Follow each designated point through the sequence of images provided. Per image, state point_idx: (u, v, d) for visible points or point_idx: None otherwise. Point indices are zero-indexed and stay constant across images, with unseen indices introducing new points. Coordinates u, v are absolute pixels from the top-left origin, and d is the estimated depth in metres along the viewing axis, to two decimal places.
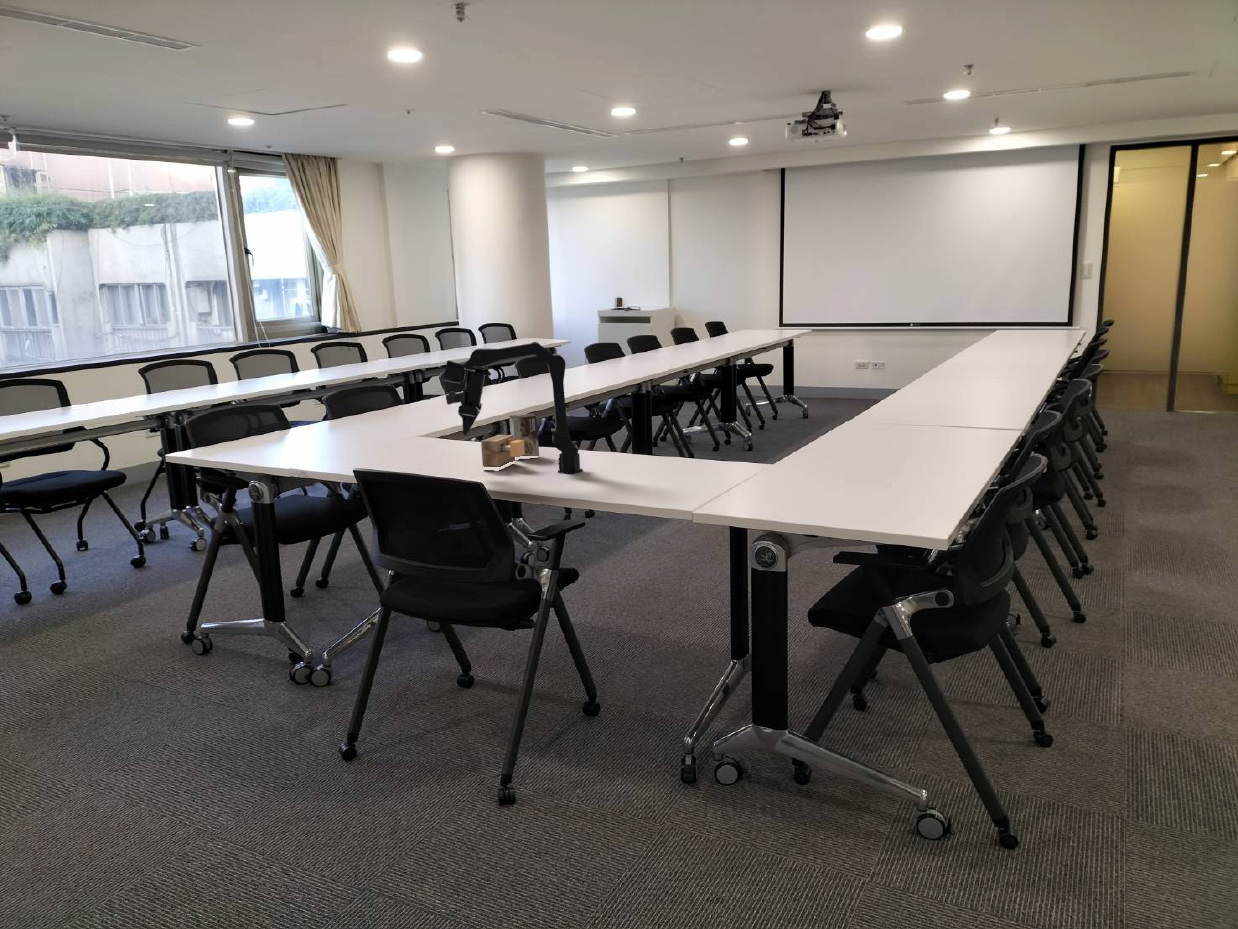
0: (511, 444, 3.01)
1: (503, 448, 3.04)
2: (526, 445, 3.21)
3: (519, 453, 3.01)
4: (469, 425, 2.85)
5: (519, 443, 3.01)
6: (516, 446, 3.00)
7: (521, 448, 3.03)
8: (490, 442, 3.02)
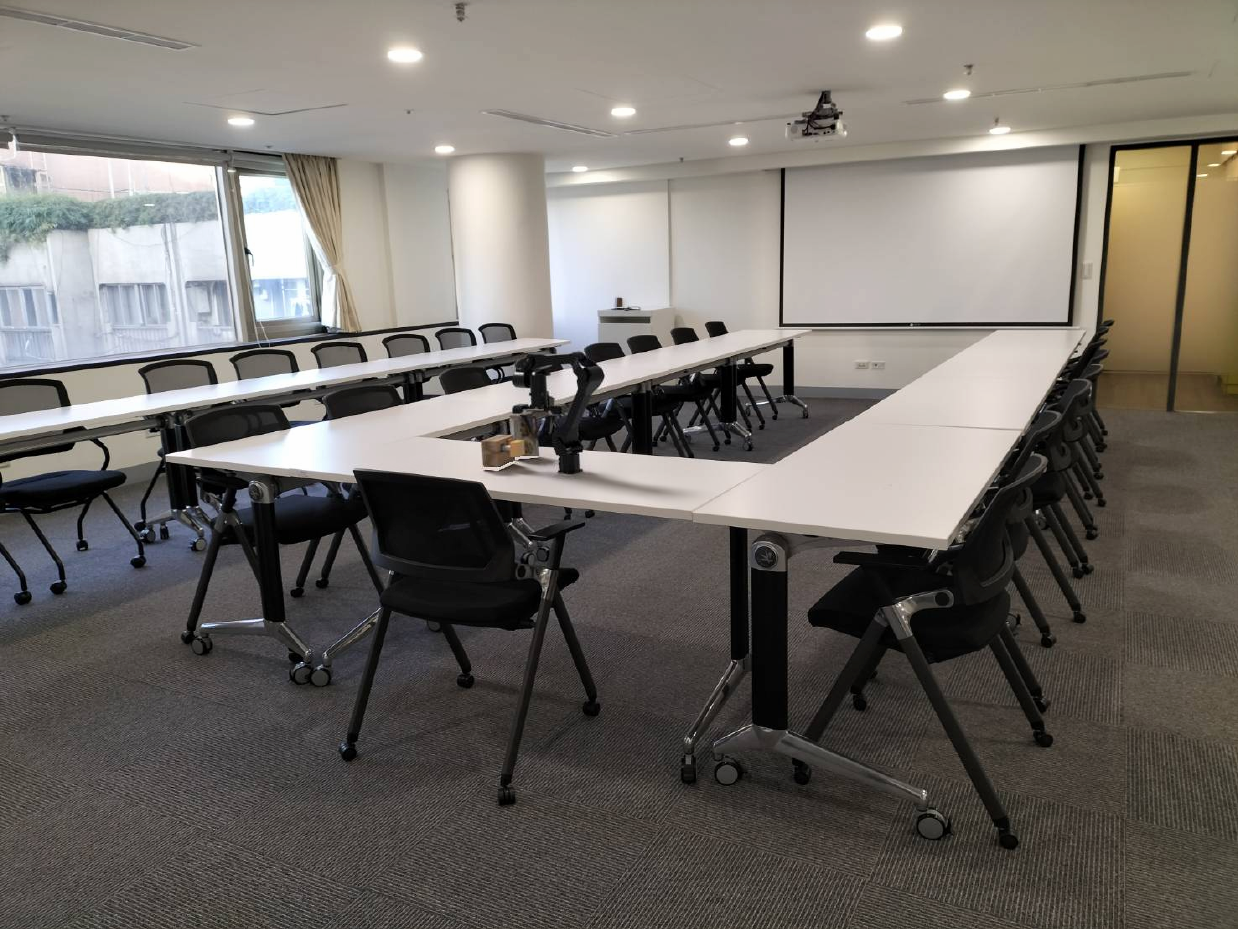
0: (511, 444, 3.01)
1: (503, 448, 3.04)
2: (526, 445, 3.21)
3: (519, 453, 3.01)
4: None
5: (519, 443, 3.01)
6: (516, 446, 3.00)
7: (521, 448, 3.03)
8: (490, 442, 3.02)
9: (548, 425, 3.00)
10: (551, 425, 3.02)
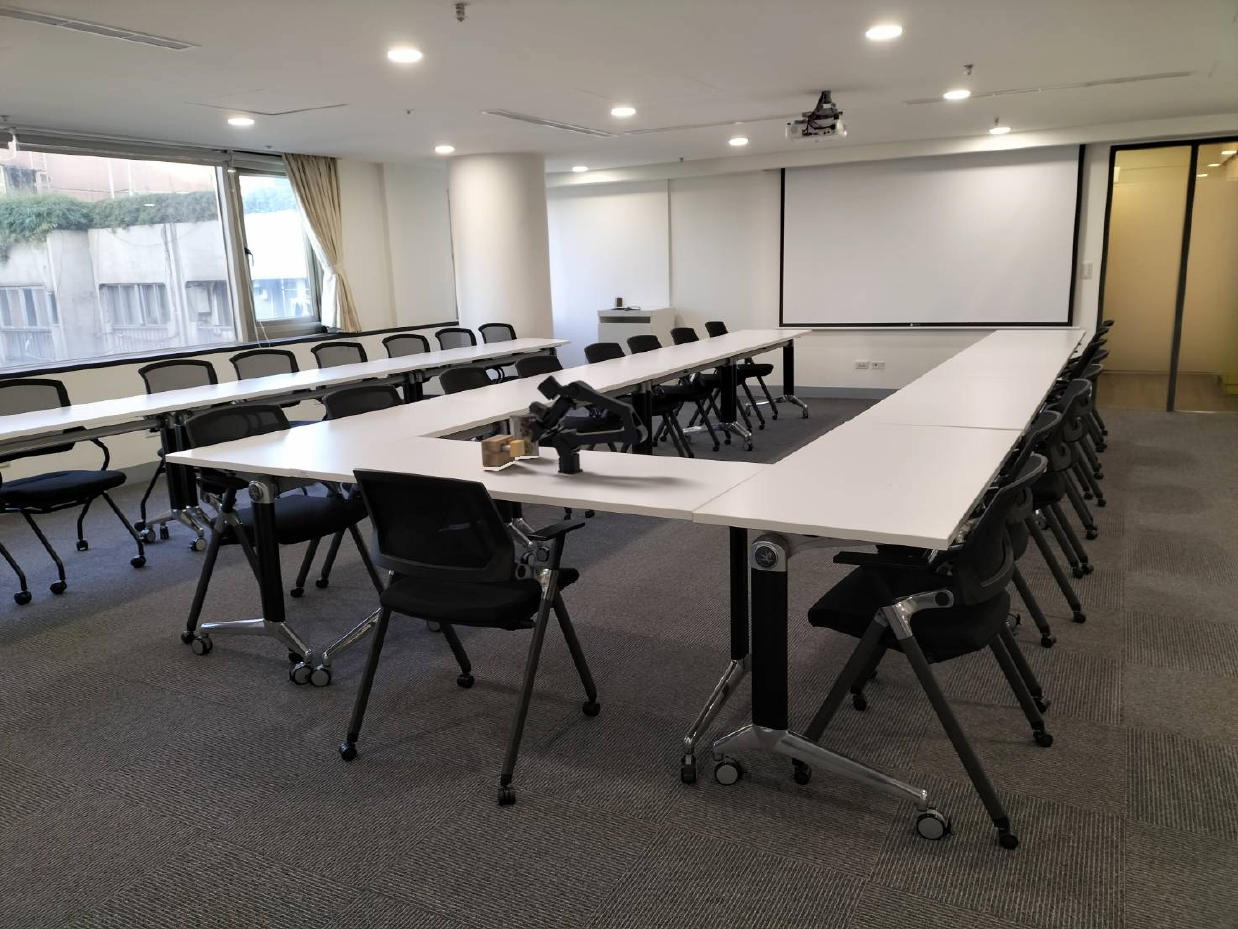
0: (511, 444, 3.01)
1: (503, 448, 3.04)
2: (526, 445, 3.21)
3: (519, 453, 3.01)
4: (537, 437, 2.98)
5: (519, 443, 3.01)
6: (516, 446, 3.00)
7: (521, 448, 3.03)
8: (490, 442, 3.02)
9: None
10: None
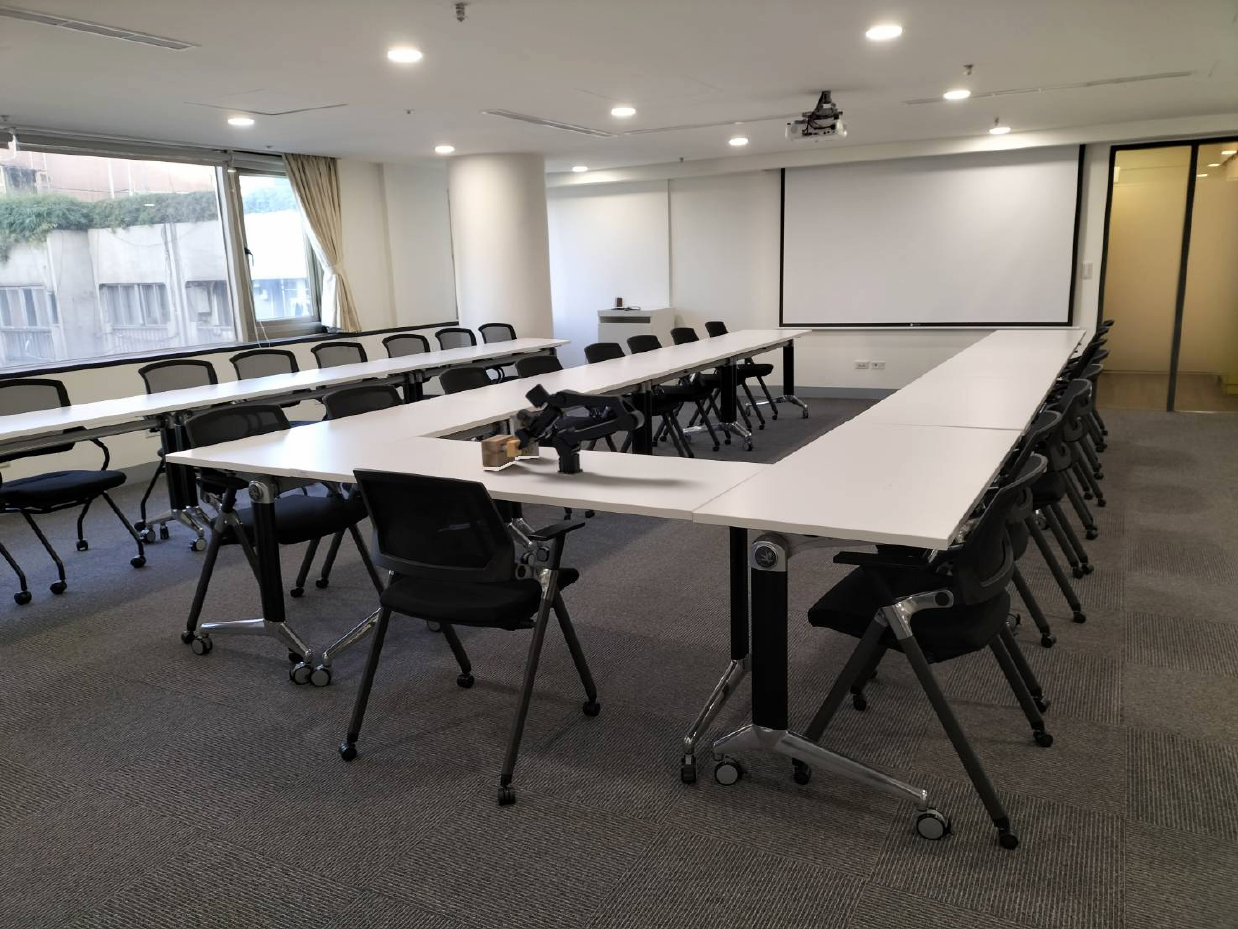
0: (508, 444, 3.01)
1: (500, 448, 3.04)
2: None
3: (516, 453, 3.02)
4: (524, 445, 3.00)
5: (516, 443, 3.02)
6: (512, 446, 3.01)
7: None
8: (490, 442, 3.02)
9: None
10: None
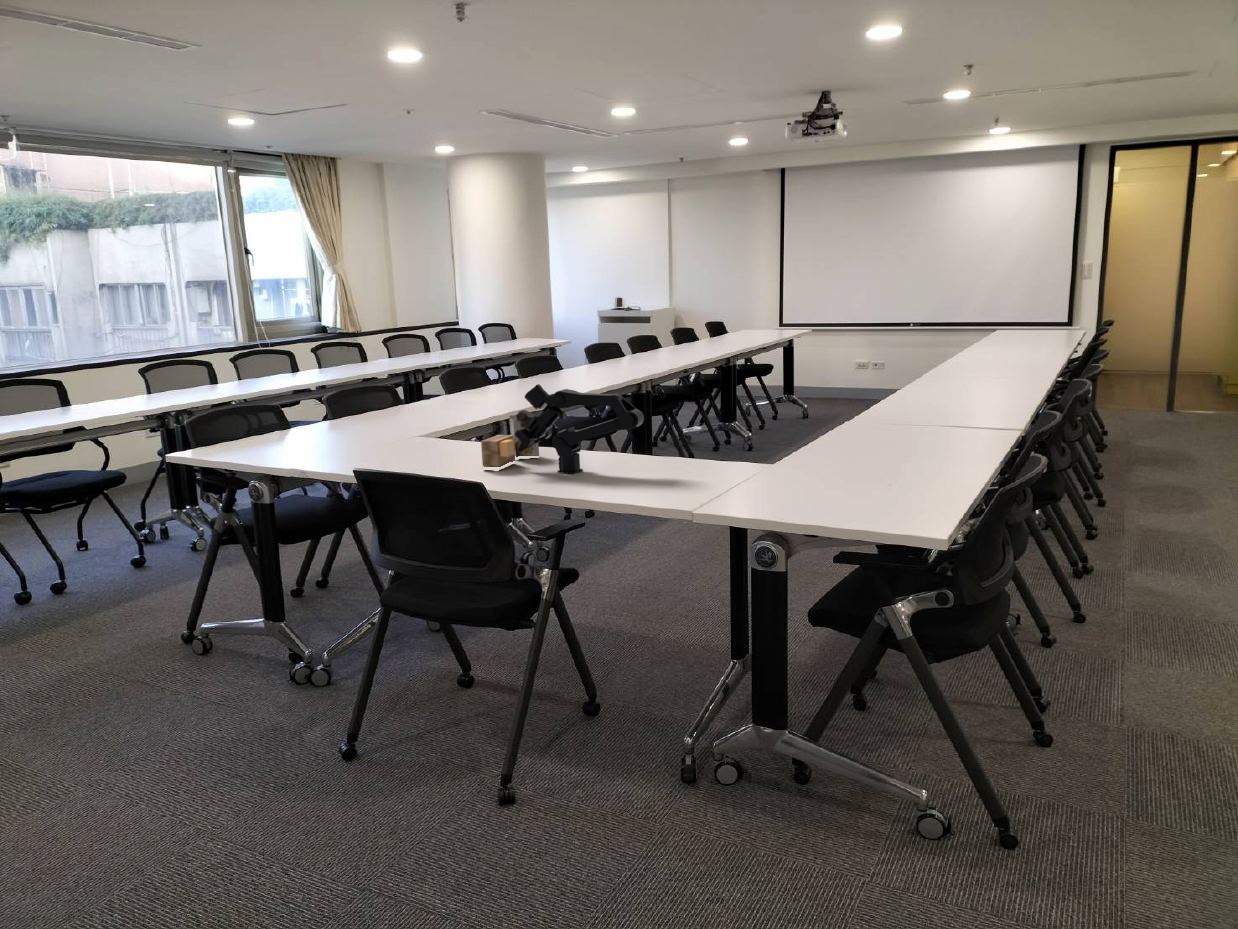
0: (500, 444, 3.02)
1: None
2: None
3: (508, 452, 3.03)
4: (525, 446, 3.00)
5: (508, 443, 3.03)
6: (505, 445, 3.02)
7: (511, 448, 3.04)
8: (490, 442, 3.02)
9: None
10: None
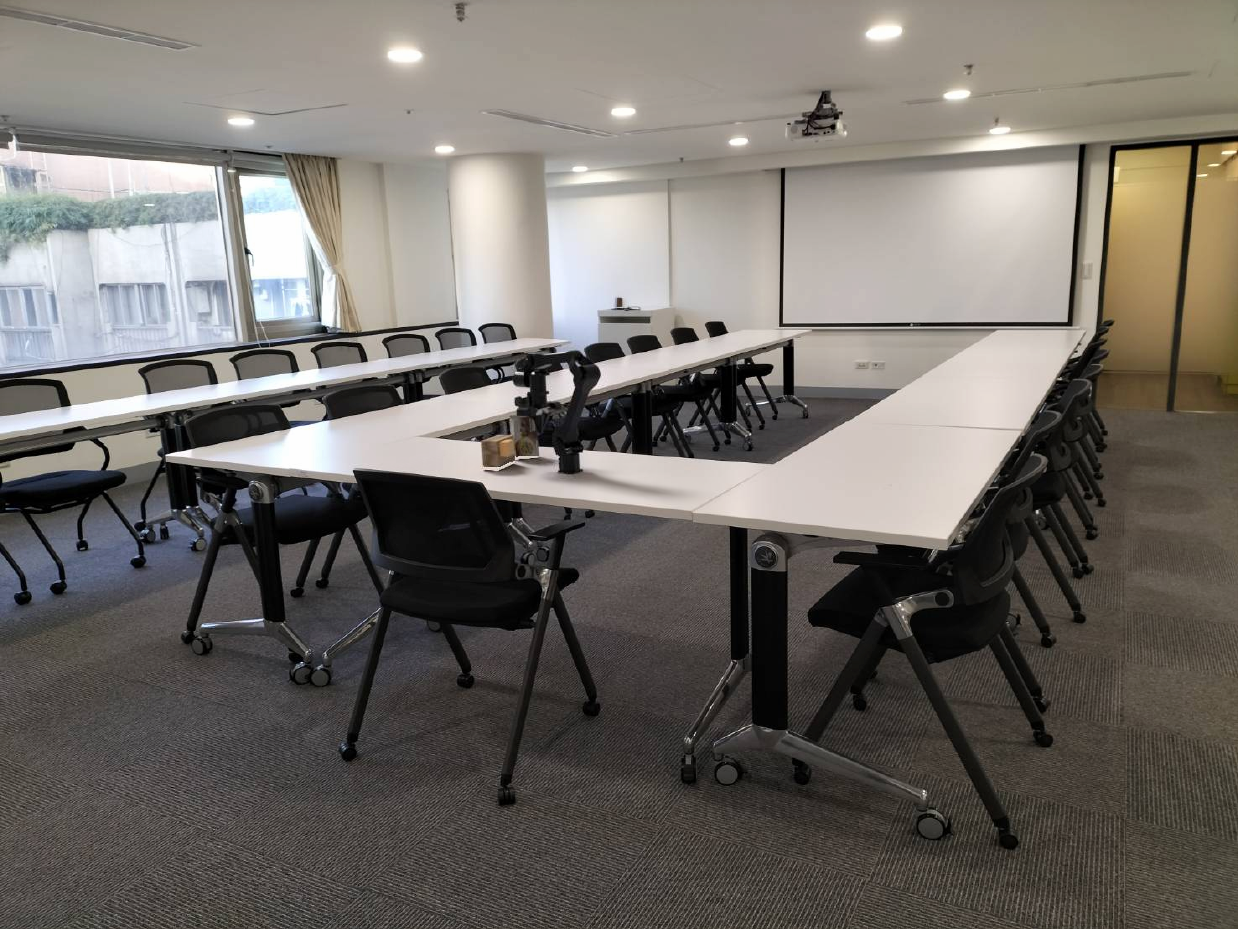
0: (500, 444, 3.02)
1: None
2: (526, 445, 3.21)
3: (508, 452, 3.03)
4: (539, 424, 3.03)
5: (508, 443, 3.03)
6: (505, 445, 3.02)
7: (511, 448, 3.04)
8: (490, 442, 3.02)
9: (545, 423, 3.04)
10: None
